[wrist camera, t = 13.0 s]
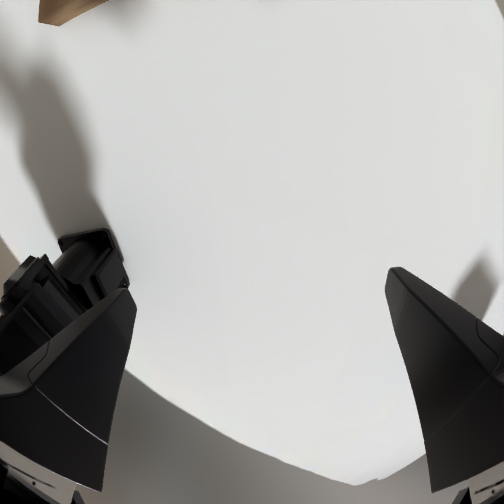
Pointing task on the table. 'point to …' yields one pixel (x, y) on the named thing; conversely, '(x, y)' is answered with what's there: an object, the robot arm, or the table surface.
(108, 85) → the table surface
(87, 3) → the walnut plinth
